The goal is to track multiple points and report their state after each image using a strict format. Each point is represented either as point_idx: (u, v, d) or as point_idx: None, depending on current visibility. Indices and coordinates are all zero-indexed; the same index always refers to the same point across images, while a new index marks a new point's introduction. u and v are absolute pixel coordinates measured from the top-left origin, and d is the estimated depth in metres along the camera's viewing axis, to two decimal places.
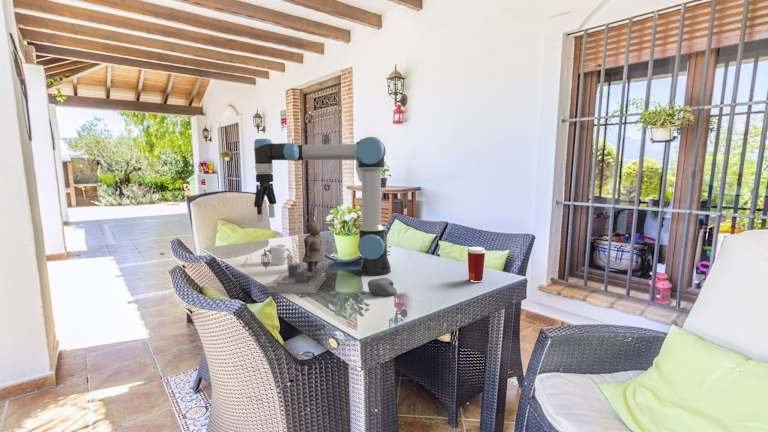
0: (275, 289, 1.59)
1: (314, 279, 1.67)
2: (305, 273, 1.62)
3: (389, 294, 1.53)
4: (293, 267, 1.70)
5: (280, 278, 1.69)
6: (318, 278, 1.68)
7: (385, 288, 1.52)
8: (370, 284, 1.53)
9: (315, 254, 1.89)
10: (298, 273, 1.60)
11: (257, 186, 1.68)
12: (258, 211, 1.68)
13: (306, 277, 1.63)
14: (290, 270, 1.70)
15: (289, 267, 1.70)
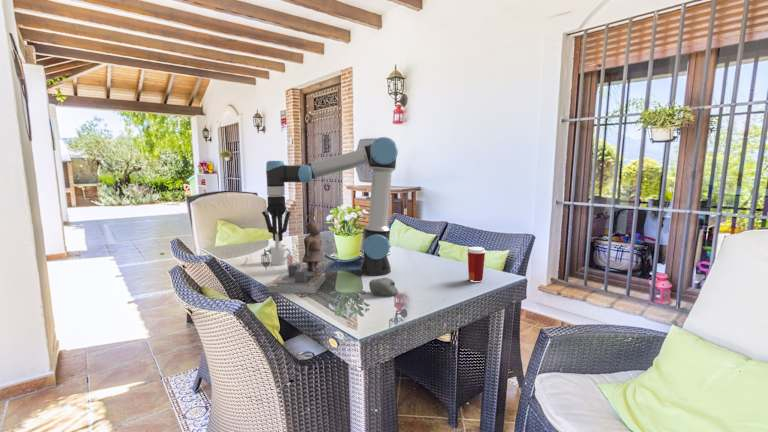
0: (275, 289, 1.59)
1: (314, 279, 1.67)
2: (305, 273, 1.62)
3: (391, 294, 1.53)
4: (293, 267, 1.70)
5: (280, 278, 1.69)
6: (318, 278, 1.68)
7: (387, 288, 1.52)
8: (371, 284, 1.53)
9: (315, 254, 1.89)
10: (298, 273, 1.60)
11: None
12: None
13: (306, 277, 1.63)
14: (290, 270, 1.70)
15: (289, 267, 1.70)
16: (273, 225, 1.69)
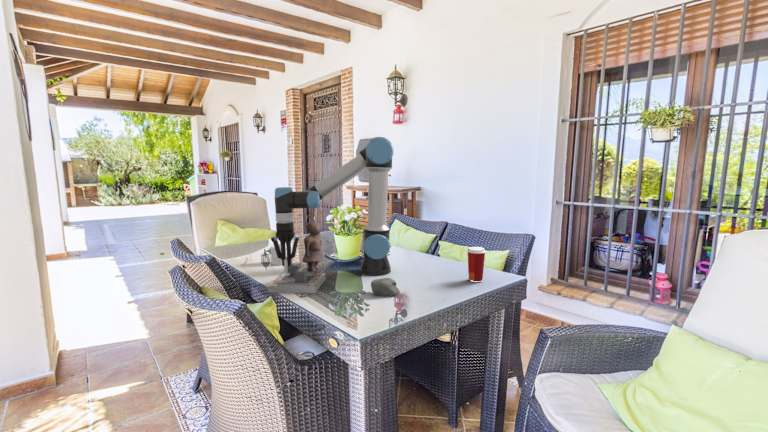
0: (275, 289, 1.59)
1: (314, 279, 1.67)
2: (305, 273, 1.62)
3: (392, 294, 1.53)
4: (294, 267, 1.70)
5: (280, 278, 1.69)
6: (318, 278, 1.68)
7: (389, 288, 1.52)
8: (373, 284, 1.53)
9: (315, 254, 1.89)
10: (298, 273, 1.60)
11: None
12: None
13: (306, 277, 1.63)
14: (291, 270, 1.70)
15: (290, 267, 1.70)
16: (282, 251, 1.71)
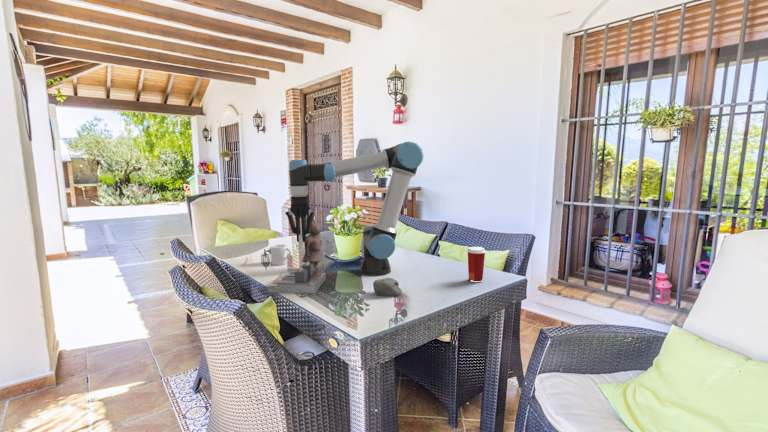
0: (275, 289, 1.59)
1: (314, 279, 1.67)
2: (305, 273, 1.62)
3: (395, 294, 1.53)
4: (306, 267, 1.69)
5: (280, 278, 1.69)
6: (318, 278, 1.68)
7: (391, 288, 1.52)
8: (375, 284, 1.53)
9: (315, 254, 1.89)
10: (298, 273, 1.60)
11: None
12: None
13: (306, 277, 1.63)
14: None
15: (302, 267, 1.70)
16: (297, 226, 1.65)
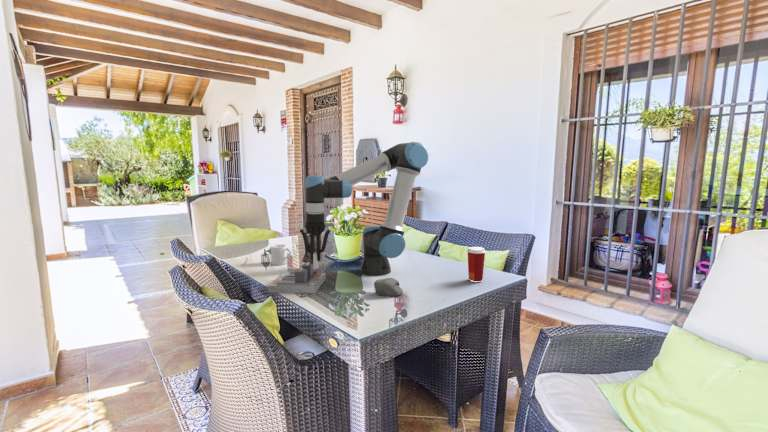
0: (275, 289, 1.59)
1: (314, 279, 1.67)
2: (305, 273, 1.62)
3: (396, 294, 1.52)
4: (306, 267, 1.69)
5: (280, 278, 1.69)
6: (318, 278, 1.68)
7: (392, 288, 1.52)
8: (376, 284, 1.53)
9: None
10: (298, 273, 1.60)
11: None
12: None
13: (306, 277, 1.63)
14: None
15: (302, 267, 1.70)
16: (311, 244, 1.59)
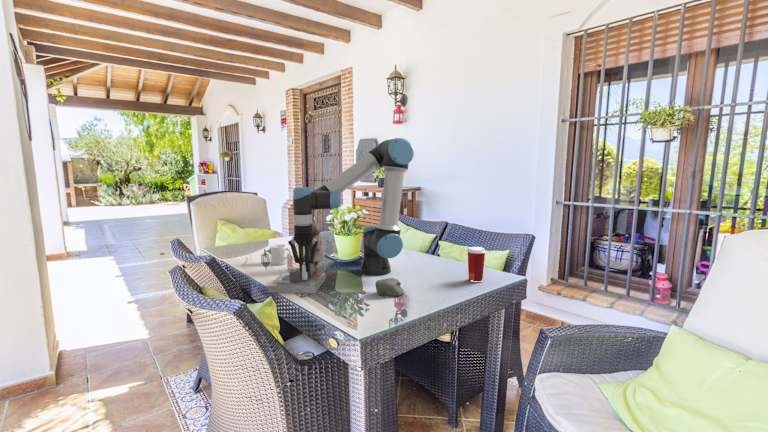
0: (275, 289, 1.59)
1: (314, 279, 1.67)
2: (301, 273, 1.62)
3: (397, 294, 1.52)
4: None
5: (280, 278, 1.69)
6: (318, 278, 1.68)
7: (393, 288, 1.52)
8: (377, 285, 1.53)
9: (315, 254, 1.89)
10: (293, 273, 1.60)
11: None
12: None
13: (301, 277, 1.63)
14: None
15: None
16: (300, 255, 1.60)
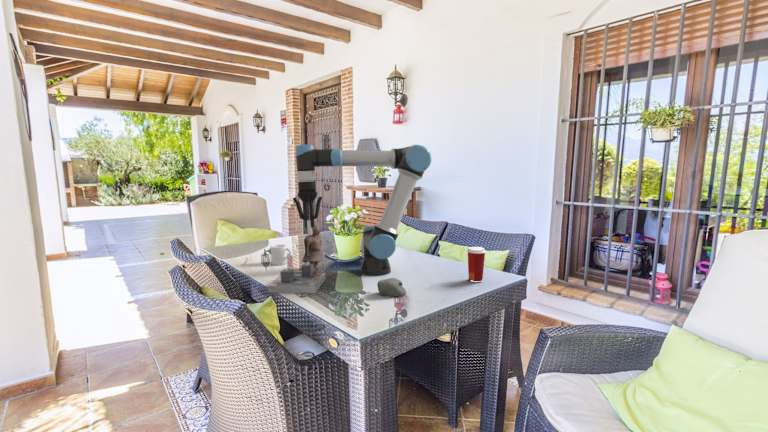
0: (275, 289, 1.59)
1: (314, 279, 1.67)
2: (292, 273, 1.63)
3: (399, 294, 1.52)
4: (306, 267, 1.69)
5: (280, 278, 1.69)
6: (318, 278, 1.68)
7: (396, 288, 1.52)
8: (379, 285, 1.52)
9: (315, 254, 1.89)
10: (284, 273, 1.60)
11: None
12: None
13: (292, 277, 1.64)
14: (303, 270, 1.70)
15: (302, 267, 1.70)
16: (305, 211, 1.65)
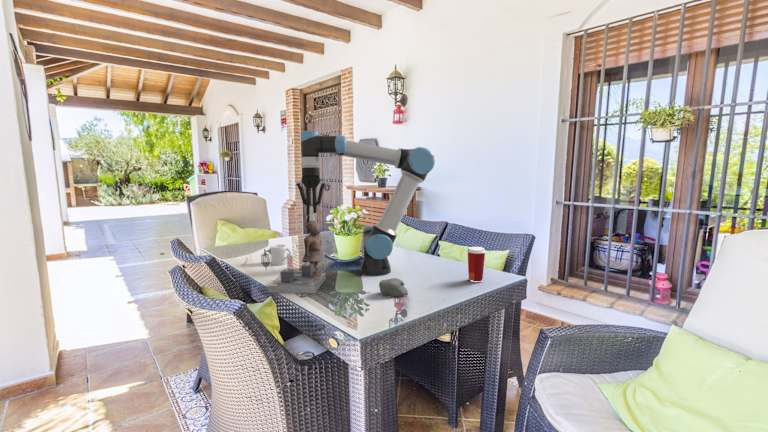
0: (275, 289, 1.59)
1: (314, 279, 1.67)
2: (292, 273, 1.63)
3: (401, 294, 1.52)
4: (306, 267, 1.69)
5: (280, 278, 1.69)
6: (318, 278, 1.68)
7: (397, 288, 1.52)
8: (381, 285, 1.52)
9: (315, 254, 1.89)
10: (284, 273, 1.60)
11: None
12: None
13: (292, 277, 1.64)
14: (303, 270, 1.70)
15: (302, 267, 1.70)
16: (308, 197, 1.67)
